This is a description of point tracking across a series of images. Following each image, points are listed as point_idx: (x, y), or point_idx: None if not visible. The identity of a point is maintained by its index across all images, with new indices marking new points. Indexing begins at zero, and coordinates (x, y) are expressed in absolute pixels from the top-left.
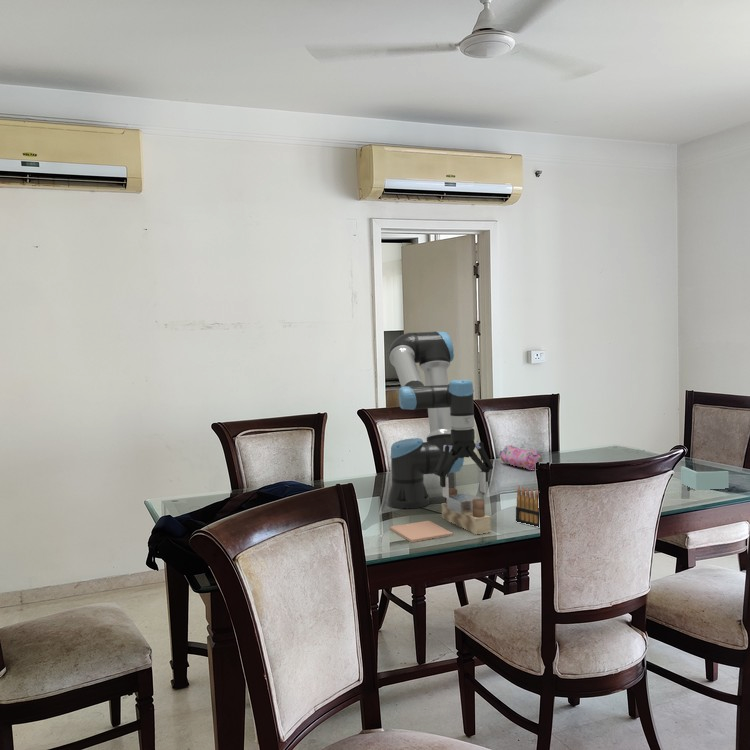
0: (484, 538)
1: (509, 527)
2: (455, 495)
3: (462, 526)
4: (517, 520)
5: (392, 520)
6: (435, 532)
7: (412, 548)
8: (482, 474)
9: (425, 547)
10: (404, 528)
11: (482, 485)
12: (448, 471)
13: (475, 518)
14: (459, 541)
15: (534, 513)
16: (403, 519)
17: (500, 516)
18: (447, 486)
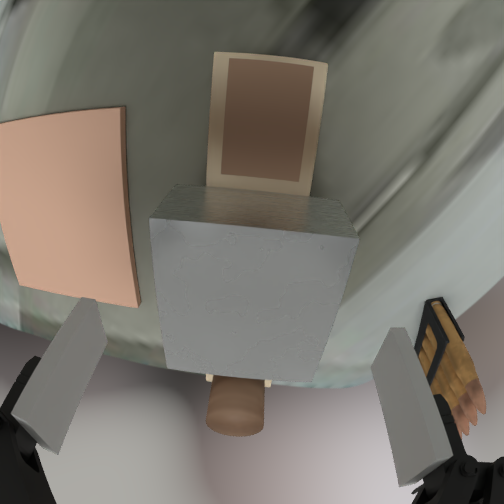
0: None
1: (363, 331)
2: (222, 241)
3: None
4: (427, 311)
5: (32, 12)
6: (87, 271)
7: (25, 312)
8: (405, 466)
9: (51, 325)
10: (12, 172)
11: (387, 392)
12: (48, 491)
13: (208, 377)
14: (140, 345)
15: None
16: (67, 9)
17: (455, 215)
18: (73, 396)
